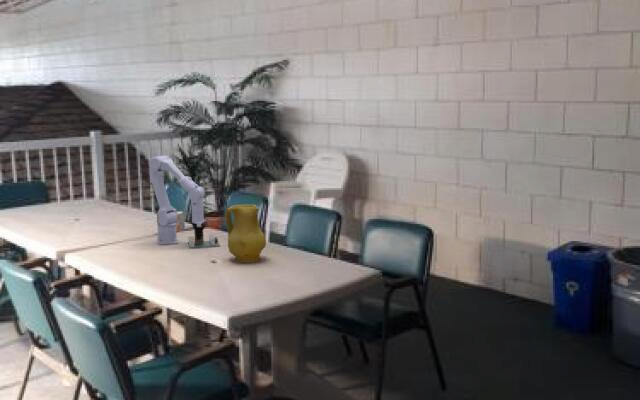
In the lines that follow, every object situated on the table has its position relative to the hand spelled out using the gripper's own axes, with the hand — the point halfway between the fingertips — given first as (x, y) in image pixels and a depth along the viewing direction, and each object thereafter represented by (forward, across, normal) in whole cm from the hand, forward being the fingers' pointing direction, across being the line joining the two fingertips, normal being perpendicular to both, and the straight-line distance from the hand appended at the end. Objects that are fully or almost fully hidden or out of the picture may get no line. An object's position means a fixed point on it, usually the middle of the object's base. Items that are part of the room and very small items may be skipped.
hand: (198, 238), depth 324 cm
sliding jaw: (+3, 0, -7) cm, 8 cm away
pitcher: (+4, -34, -19) cm, 39 cm away
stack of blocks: (+4, +39, +12) cm, 41 cm away
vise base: (+3, 0, -3) cm, 4 cm away
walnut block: (+2, 0, 0) cm, 2 cm away
